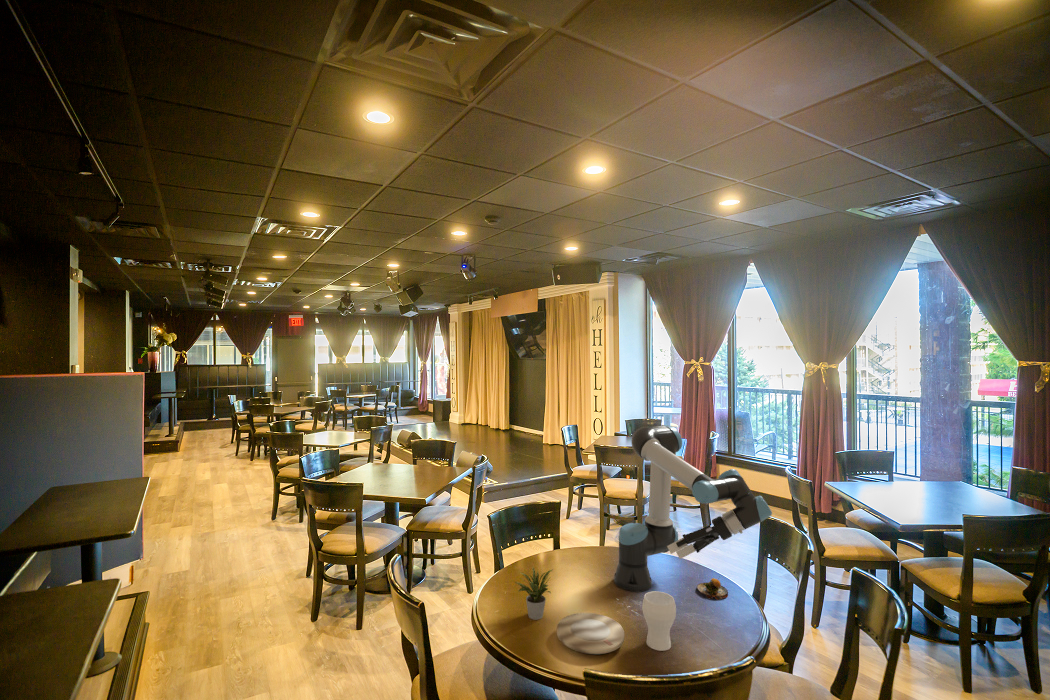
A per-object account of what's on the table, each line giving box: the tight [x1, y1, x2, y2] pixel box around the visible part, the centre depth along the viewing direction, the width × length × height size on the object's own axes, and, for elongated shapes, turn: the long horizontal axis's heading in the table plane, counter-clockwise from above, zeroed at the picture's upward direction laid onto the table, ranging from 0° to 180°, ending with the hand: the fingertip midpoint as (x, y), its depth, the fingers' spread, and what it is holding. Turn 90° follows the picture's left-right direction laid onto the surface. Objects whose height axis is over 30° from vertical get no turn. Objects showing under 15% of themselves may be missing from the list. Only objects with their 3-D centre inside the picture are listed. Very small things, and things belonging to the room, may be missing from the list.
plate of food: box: [696, 576, 729, 601], centre depth 202 cm, size 12×12×8 cm
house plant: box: [514, 566, 553, 621], centre depth 183 cm, size 14×14×16 cm
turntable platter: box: [556, 612, 625, 655], centre depth 166 cm, size 22×22×2 cm
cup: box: [641, 590, 677, 652], centre depth 165 cm, size 11×11×15 cm
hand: (673, 552), depth 181 cm, fingers open, 13 cm apart
